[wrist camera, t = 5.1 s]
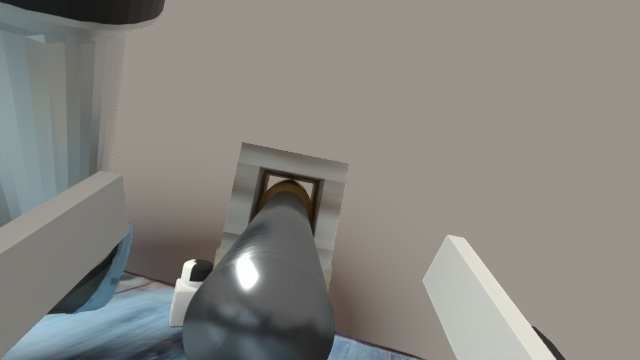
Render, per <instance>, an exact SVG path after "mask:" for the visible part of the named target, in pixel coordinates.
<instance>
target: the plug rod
mask: <svg viewBox="0 0 640 360" xmlns="http://www.w3.org/2000/svg"><path fill="white" fill-rule="evenodd" d="M311 217H312V203H311V200H310V198H309V196H308V194H307V192H306V190H305V188H304V186H303V185H302V184H301V183H300V182H298V181H297V180H292V179H282V180H280V181H278V182H277V183H276V184H274V185H273V186H272V187H271V188H270V189H268V190H267V191H266V192H265V193H264V195H263V196H262V198H261V200H260V202H259V206H258V214H257V215H256V217H255V218H254V219H253V220H252V222H251V223H250V224H249V225H248V227H247V228H246V229H245V230H244V232H243V233H242V234H241V235H240V237H239V238H238V239H237V240H236V242H235V243H234V244H233V245H232V247H231V248H230V249H229V251H228V252H227V253H226V254H225V256H224V257H223V258H222V259H221V261H220V262H219V263H218V264H217V266H216V267H215V268H214V269H213V271H212V272H211V273H210V274H209V276H208V277H207V278H206V279H205V281H204V282H203V283H202V284H201V286H200V287H199V288H198V290H197V291H196V292H195V294H194V295H193V297H192V299H191V301H190V303H189V305H188V307H187V310H186V313H185V317H184V321H183V329H182V339H183V346H184V351H185V354H186V358H187V360H327V359H328V356H329V354H330V352H331V349H332V345H333V341H334V335H335V318H334V312H333V308H332V304H331V301H330V297H329V294H328V290H327V286H326V282H325V279H324V275H323V271H322V268H321V264H320V260H319V257H318V253H317V249H316V246H315V242H314V238H313V235H312V231H311V227H310V224H309V222H310V220H311Z"/></svg>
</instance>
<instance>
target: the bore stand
mask: <svg viewBox="0 0 640 360" xmlns="http://www.w3.org/2000/svg"><path fill="white" fill-rule="evenodd" d="M348 165H349V164H346V163H342V162H337V161H332V160H327V159H322V158H317V157H312V156H307V155H302V154H298V153H293V152H288V151H283V150H278V149H273V148H268V147H263V146H258V145H253V144H248V143H244V142H242V147H241V151H240V156H239V161H238V165H237V170H236V175H235V180H234V185H233V189H232V194H231V199H230V203H229V208H228V213H227V218H226V223H225V227H224V232H223V237H222V241H221V246H220V247H219V248H218V249H217V252H216V257H215V262H214V266H213V269H214V268H215V267H216V266H217V264H218V263H219V262H220V261H221V259H222V258H223V257H224V256H225V254H226V253H227V252H228V251H229V249H230V248H231V247H232V245H233V244H234V243H235V242H236V240H237V239H238V238H239V237H240V235H241V234H242V233H243V232H244V230H245V229H246V228H247V227H248V225H249V224H250V223H251V222H252V220H253V219H254V218H255V217H256V215H257V214H258V206H259V202H260V200H261V198H262V196H263V195H264V193H265V192H266V191H267V186H268V181H269V176H270V175H272V176H276V177H282V178H287V179H292V180H297V181H302V182H307V183H313V189H312V194H311V199H310V200H311V203H312V217H311V220H310V222H309V224H310V227H311V231H312V235H313V238H314V242H315V246H316V249H317V253H318V257H319V260H320V264H321V268H322V271H323V275H324V279H325V282H326V286H327V290H329V285H330V278H331V273H332V265H331V260H332V254H333V248H334V243H335V237H336V232H337V226H338V221H339V215H340V210H341V204H342V199H343V193H344V187H345V182H346V176H347V171H348Z"/></svg>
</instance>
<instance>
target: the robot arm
mask: <svg viewBox="0 0 640 360" xmlns="http://www.w3.org/2000/svg"><path fill="white" fill-rule="evenodd" d="M164 2H165V0H0V359H1V358H2V357H3V356H4V355H5V354H6V353H7V352H8V351H9V350H10V349H11V348H12V347H13V346H14V345H15V344H16V343H17V342H18V341H19V340H20V339H21V338H22V337H23V336H24V335H25V334H26V333H27V332H28V331H29V330H30V329H31V328H33V327H34V326H35V325H36V324H37V323H38V322H39V321H40V320H41V319H42V318H43V317H44V316H45V315H46V314H59V313H65V314H76V313H79V312H84V311H92V310H97V309H100V308H102V307H104V306H105V305H106V304H107V303H108V302H109V301H110V300H111V299H112V297H113V295H114V293H115V291H116V289H117V287H118V284H119V280H120V277H121V275H122V273H123V270H124V268H125V264H126V261H127V257H128V254H129V250H130V245H131V240H132V234H133V233H132V232H133V228H132V225H131V223H130V222H128V216H127V209H126V201H125V193H124V185H123V177H122V175H121V174H116V173H111V172H110V170H111V162H112V154H113V146H114V137H115V129H116V121H117V111H118V104H119V95H120V87H121V79H122V70H123V62H124V54H125V46H126V37H127V32H130V31H134V30H137V29H140V28H143V27H147V26H149V25H152V24H153V23H155V22H156V21H158V19H159V18H160V17H161V15H162V11H163V7H164ZM423 283H424V286H425V288H426V290H427V292H428V295H429V297H430V299H431V301H432V304H433V306H434V308H435V311H436V313H437V315H438V317H439V320H440V322H441V324H442V326H443V329H444V331H445V333H446V335H447V338H448V340H449V342H450V344H451V347H452V349H453V351H454V354H455V356H456V358H457V360H565V359H564V357H563V356H562V355H561V353H560V352H559V351H558V350H557V348H556V347H555V346H554V345H553V343H552V342H551V341H549V340H548V339H547V338H546V337H545V336H544V335H543V334H542V333H541V332H540V331H538V329H536V328H535V327H533V326H530V324H529V323H528V322H527V320H526V319H525V318H524V316H523V315H522V314H521V312H520V311H519V310H518V308H517V307H516V306H515V304H514V303H513V302H512V300H511V299H510V298H509V297H508V295H507V294H506V293H505V291H504V290H503V289H502V287H501V286H500V285H499V283H498V282H497V281H496V279H495V278H494V277H493V275H492V274H491V273H490V272H489V270H488V269H487V268H486V266H485V265H484V264H483V262H482V261H481V260H480V258H479V257H478V256H477V255H476V253H475V252H474V250H473V249H472V248H471V246H470V245H469V244H468V243H467V241H466V240H465V238H462V237H456V236H451V235H447V236H446V238H445V240H444V242H443V244H442V246H441V248H440V249H439V251H438V253H437V255H436V256H435V258H434V260H433V262H432V264H431V266H430V267H429V269H428V271H427V273H426V275H425V277H424V278H423Z"/></svg>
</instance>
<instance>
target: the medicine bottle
mask: <svg viewBox="0 0 640 360" xmlns="http://www.w3.org/2000/svg"><path fill="white" fill-rule="evenodd" d="M213 266H214V265H213V264H212V263H211V262H209V261H206V260H199V259H195V260H190V261H187V262H186V263H185V264H184V267H183V272H182V277H181V279H178V280H177V282H176V286H175V291H174V295H173V300H172V305H171V309H170V318H169V326H170V327H177V326H183V321H184V317H185V313H186V310H187V307H188V305H189V303H190V301H191V299H192V297H193V295H194V294H195V292H196V291H197V290H198V288H199V287H200V286H201V284H202V283H203V282H204V281H205V279H206V278H207V277H208V276H209V274H210V273H211V272H212V271H213Z"/></svg>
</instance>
